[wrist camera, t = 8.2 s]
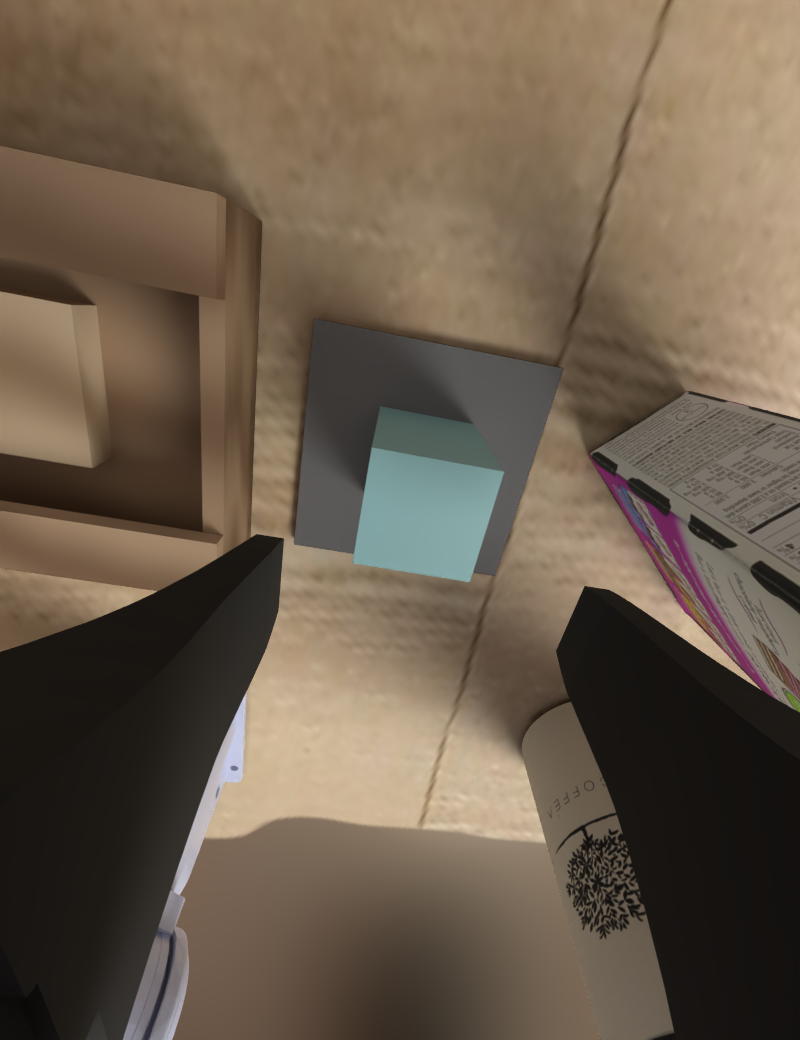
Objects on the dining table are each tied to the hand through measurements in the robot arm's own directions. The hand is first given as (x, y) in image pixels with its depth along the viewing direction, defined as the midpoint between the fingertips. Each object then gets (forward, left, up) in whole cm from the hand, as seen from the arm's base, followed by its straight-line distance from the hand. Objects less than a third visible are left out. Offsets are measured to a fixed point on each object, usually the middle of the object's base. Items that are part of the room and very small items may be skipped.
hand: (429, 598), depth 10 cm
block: (0, 0, -10) cm, 10 cm away
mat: (0, 0, -10) cm, 10 cm away
